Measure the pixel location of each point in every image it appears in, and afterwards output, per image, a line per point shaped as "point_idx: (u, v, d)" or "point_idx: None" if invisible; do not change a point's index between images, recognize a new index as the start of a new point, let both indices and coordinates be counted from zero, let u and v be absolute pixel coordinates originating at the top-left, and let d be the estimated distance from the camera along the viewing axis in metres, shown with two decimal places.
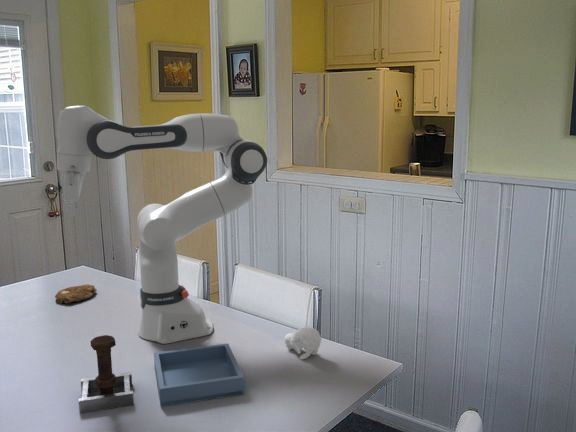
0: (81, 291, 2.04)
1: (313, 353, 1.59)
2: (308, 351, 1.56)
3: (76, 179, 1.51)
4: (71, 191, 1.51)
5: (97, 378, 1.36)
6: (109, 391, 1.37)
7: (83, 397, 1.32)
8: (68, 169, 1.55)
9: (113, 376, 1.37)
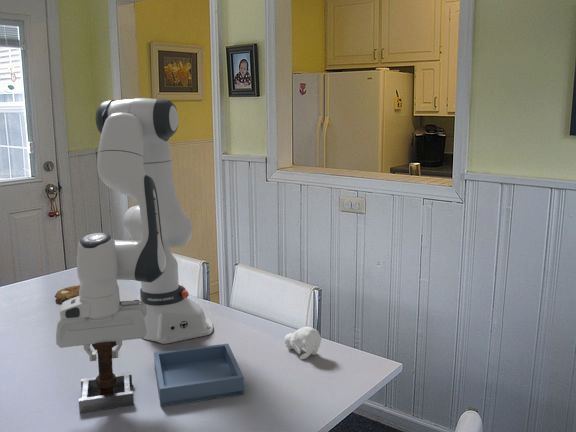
0: None
1: (313, 353, 1.59)
2: (308, 351, 1.56)
3: None
4: (145, 323, 1.37)
5: (97, 378, 1.36)
6: (109, 391, 1.37)
7: (83, 397, 1.32)
8: (119, 307, 1.33)
9: (113, 376, 1.37)
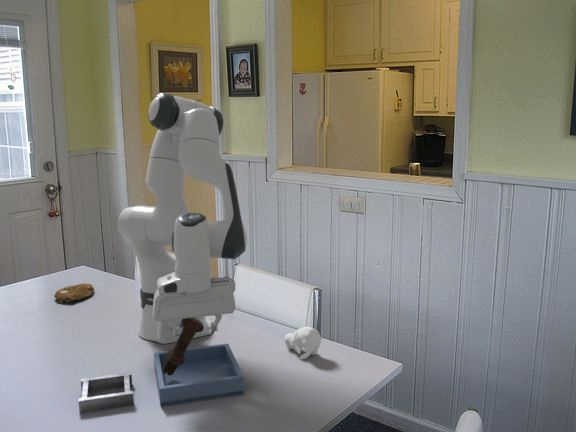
0: (81, 290, 2.05)
1: (313, 353, 1.59)
2: (308, 351, 1.56)
3: None
4: None
5: (170, 352, 1.43)
6: (174, 368, 1.43)
7: (83, 397, 1.32)
8: (211, 283, 1.41)
9: (183, 357, 1.44)
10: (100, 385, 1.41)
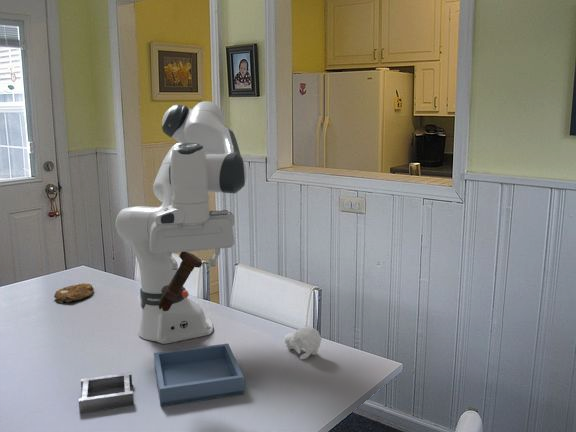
0: (81, 290, 2.05)
1: (313, 353, 1.59)
2: (308, 351, 1.56)
3: None
4: None
5: (166, 287, 1.39)
6: (169, 304, 1.39)
7: (83, 397, 1.32)
8: (209, 216, 1.37)
9: (179, 293, 1.40)
10: (100, 385, 1.41)
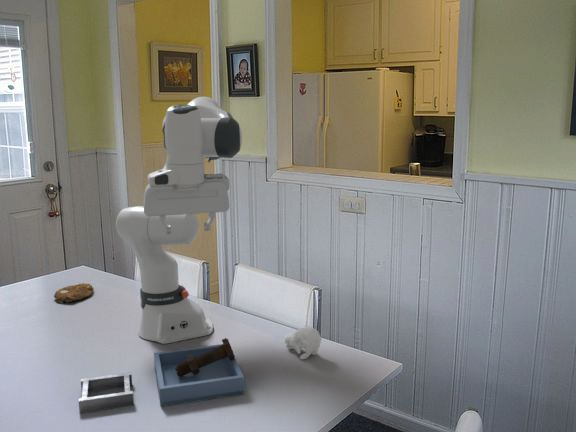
0: (81, 290, 2.05)
1: (313, 353, 1.59)
2: (308, 351, 1.56)
3: None
4: None
5: None
6: (185, 372, 1.45)
7: (83, 397, 1.32)
8: (204, 179, 1.36)
9: None
10: (100, 385, 1.41)
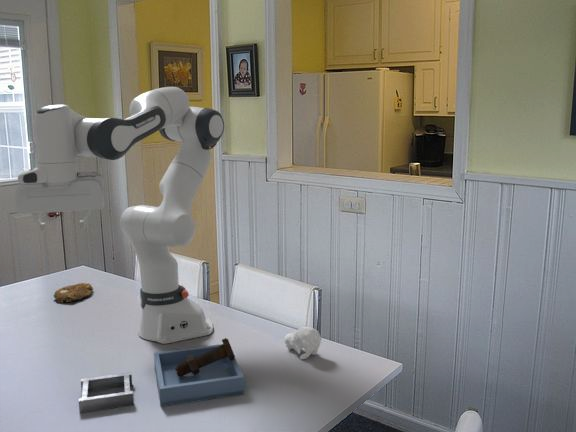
0: (80, 289, 2.06)
1: (313, 353, 1.59)
2: (308, 351, 1.56)
3: None
4: None
5: None
6: (185, 372, 1.45)
7: (83, 397, 1.32)
8: (76, 177, 1.38)
9: None
10: (100, 385, 1.41)
